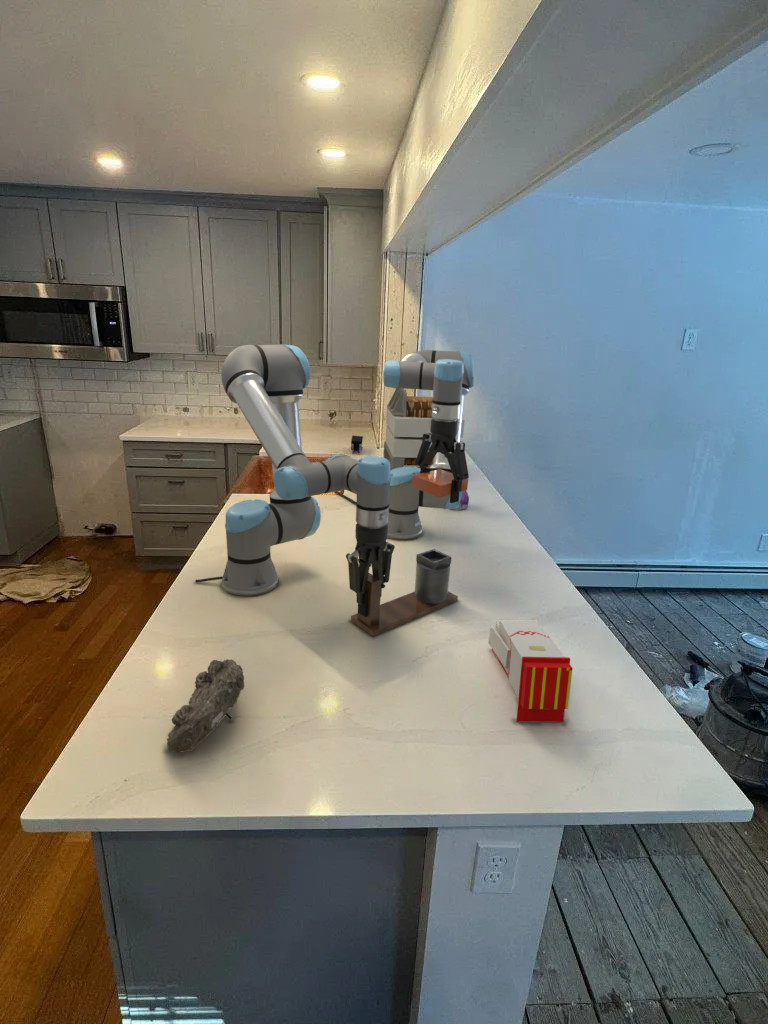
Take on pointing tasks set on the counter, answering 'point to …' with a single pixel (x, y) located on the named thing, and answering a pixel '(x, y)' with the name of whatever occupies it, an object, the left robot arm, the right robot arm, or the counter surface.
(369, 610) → the caddy
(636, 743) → the counter surface
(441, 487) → the orange square block
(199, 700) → the fossil
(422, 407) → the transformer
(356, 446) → the figurine character
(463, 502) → the figurine
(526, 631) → the toy
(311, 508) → the left robot arm
